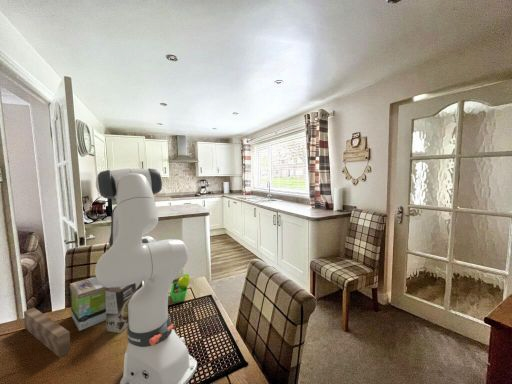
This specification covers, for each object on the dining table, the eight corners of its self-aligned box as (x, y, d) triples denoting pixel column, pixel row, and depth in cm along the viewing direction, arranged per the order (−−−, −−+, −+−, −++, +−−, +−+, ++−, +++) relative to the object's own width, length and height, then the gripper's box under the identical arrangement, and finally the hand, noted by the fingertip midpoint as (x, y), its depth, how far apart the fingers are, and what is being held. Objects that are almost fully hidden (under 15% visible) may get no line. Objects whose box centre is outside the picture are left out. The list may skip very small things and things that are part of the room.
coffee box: (120, 333, 83) (118, 292, 82) (106, 331, 84) (104, 290, 83) (137, 318, 92) (136, 281, 91) (124, 316, 93) (123, 280, 92)
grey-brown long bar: (70, 351, 75) (69, 331, 74) (59, 357, 72) (58, 337, 71) (35, 324, 89) (34, 307, 88) (24, 328, 86) (23, 311, 86)
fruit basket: (173, 292, 113) (172, 271, 112) (190, 290, 115) (190, 269, 115) (169, 304, 102) (169, 281, 101) (189, 301, 104) (188, 279, 104)
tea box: (108, 319, 92) (107, 285, 91) (78, 332, 84) (76, 295, 83) (98, 305, 101) (96, 275, 100) (70, 316, 94) (68, 283, 93)
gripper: (115, 260, 111) (95, 287, 103) (140, 268, 102) (120, 298, 94) (124, 265, 116) (105, 292, 108) (149, 273, 106) (130, 303, 98)
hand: (112, 295), depth 101 cm, fingers closed
